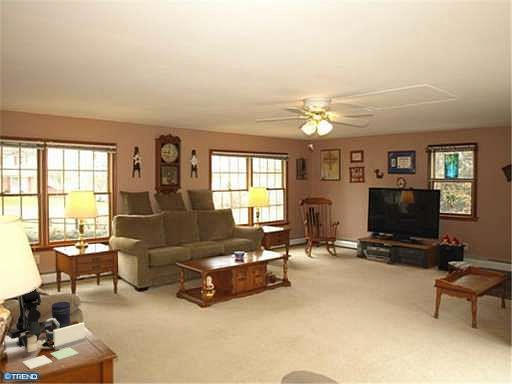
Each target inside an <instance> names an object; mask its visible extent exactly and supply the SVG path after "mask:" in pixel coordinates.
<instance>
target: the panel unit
mask: <svg viewBox="0 0 512 384" xmlns="http://www.w3.org/2000/svg"><path fill="white" fill-rule="evenodd" d="M85 330H86V328H85V322H83V321H82V322H80V323H75V324H73V325H71V324H70V326H67V327H64V328H60V329H56V330H53V342H54V348H53V349H54V350H57V351H58V350H61V349H65V348H68V347H70V346H73V345H76V344H79V343H83V342H86V339H87V338H86V335H85V334H86V331H85Z"/></svg>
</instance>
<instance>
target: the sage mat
mask: <svg viewBox="0 0 512 384" xmlns="http://www.w3.org/2000/svg"><path fill="white" fill-rule="evenodd" d="M49 354H50V355H51V356H52V357H54V358H55V359H57V360H58V361H61V360H64V359H65V358H69V357H72V356H76V355H79V351H76V350H74V349H73V348H71V347H70V346H68V347H65V348H62V349H58V350H57V351H53V352H50V353H49Z"/></svg>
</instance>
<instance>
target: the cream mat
mask: <svg viewBox="0 0 512 384" xmlns="http://www.w3.org/2000/svg"><path fill="white" fill-rule="evenodd" d="M21 363H22V364H23V365H24V366H25V367H27V368H28V369H29V370H33V369H35V368H39V367H42V366H45V365H48V364H51V363H53V361H52V360H51V359H50V358H48V357H47V356H46V355H45V354H44V355H40V356H36V357H33V358H29V359H27V360H24V361H21Z"/></svg>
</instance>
